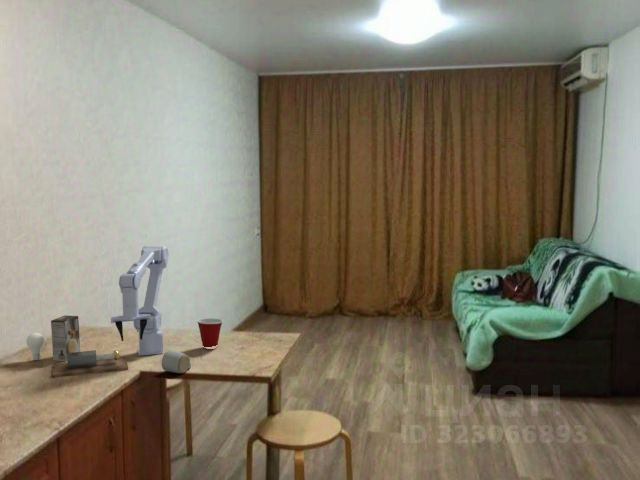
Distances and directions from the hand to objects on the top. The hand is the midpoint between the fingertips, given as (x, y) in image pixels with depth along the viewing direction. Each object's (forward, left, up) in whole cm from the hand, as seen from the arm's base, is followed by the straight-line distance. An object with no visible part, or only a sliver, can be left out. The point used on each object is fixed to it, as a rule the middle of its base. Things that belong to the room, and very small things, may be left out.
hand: (131, 339), depth 238 cm
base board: (+15, 0, -9) cm, 18 cm away
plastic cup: (-32, -11, -10) cm, 35 cm away
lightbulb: (+35, -17, -10) cm, 40 cm away
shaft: (+13, 0, -7) cm, 15 cm away
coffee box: (+24, -17, -10) cm, 31 cm away
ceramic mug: (-15, +15, -10) cm, 23 cm away
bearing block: (+18, 0, -9) cm, 20 cm away
